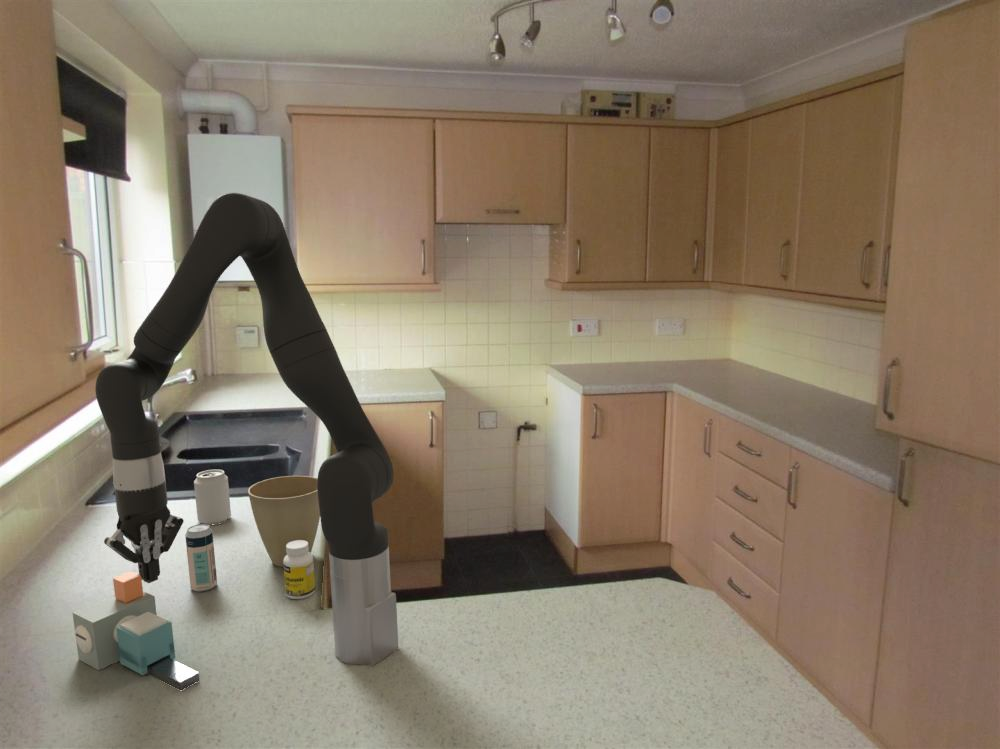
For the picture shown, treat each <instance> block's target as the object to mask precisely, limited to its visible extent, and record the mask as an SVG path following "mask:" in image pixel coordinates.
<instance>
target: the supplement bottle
mask: <svg viewBox="0 0 1000 749" xmlns="http://www.w3.org/2000/svg"><path fill="white" fill-rule="evenodd" d="M308 551H309V546H308V542H307V541H304V540H296V541H292V542H289V543H288V544H287V545H286V552H287V555H286V556H285V557H284V560H283V565H284V567H283V573H284V575H283V576H284V589H285V596H286V597H287V598H289V599H291V600H301V599H302V600H303V599H306V598H310V596H313V594H314V593H315V592H316V579H315V577H316V576H315V565H314V564H315V563H314V556H313V554H312V552H311V553H310V552H308Z"/></svg>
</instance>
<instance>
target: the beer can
mask: <svg viewBox="0 0 1000 749" xmlns="http://www.w3.org/2000/svg"><path fill="white" fill-rule="evenodd" d="M184 536H185V546H186V556H187V566H188V574H189V576H188V577H189V585H190V587H189V588H190V590H192V591H195V592H198V593H200V592H201V593H202V592H206V591H210V590H213V588H214V587H215V586H216V585H217V584H218V579H217V578H218V577H217V566H216V558H215V557H216V555H215V554H216V553H215V546H214V544H215V543H214V535H213V529H212V528H211V526H210V525H206V524H202V523H201V524H195V525H192V526H189V527H188V528H187V530H186V532H185V535H184Z"/></svg>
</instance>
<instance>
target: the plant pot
mask: <svg viewBox="0 0 1000 749" xmlns="http://www.w3.org/2000/svg"><path fill="white" fill-rule="evenodd" d="M317 478H318V477H314V476H308V475H287V476H285V475H284V476H277V477H272V478H268V479H264V480H262V481H261V480H260V481H258V482H256V483H254V484H252V485H250V486H249V488H248V490H247V494H248V498H249V503H250V506H251V510H252V515H253V518H254V521H255V525H256V527H257V530H258V533H259V535H260V538H261V541H262V543H263V546H264V548H265V550H266V552H267V554H268V556H269V558H270V561H271V563H272V564H273V565H274V566H277V567H279V568H280V567H281V568H282V567H283V568H284V565H283V560H284V557H285V556H286V555H287V552H286V545H287V544H288V543H289V542H292V541H296V540H304V541H307V542H308V546H309V551H308V552H310V553H311V554H312V550H313V547H314V544H315V540H316V536H317V533H318V532H317V531H318V528H319V525H320V524H319V523H320V520H321V518H320V509H319V501H318V492H317Z"/></svg>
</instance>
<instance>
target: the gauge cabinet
mask: <svg viewBox="0 0 1000 749" xmlns="http://www.w3.org/2000/svg"><path fill="white" fill-rule="evenodd" d="M146 612H150V613H152V614H155V615H157V606H156V598H155V595H153V594H150V593H148V592H146V591H144V590H143V596H141V597H139V598H136V599H134V600H132V601H129V602H127V603H124V602H122V601H120V600H118V599H115V594H114V595H113V596H110V597H107V598H105V599H102V600H100V601H97V602H95V603H93V604H91V605H88V606H85V607H83V608H80V609H78V610H76V611H73V612H72V618H73V625H74V636H75V640H76V641H75V642H76V649H77V658H78V660H79V661H81V662H83V663H84V664H87V665H88V666H90V667H91V666H92V667H91V668H93V669H94V670H96V671H98V670H99V671H101V670H103V669H105V667H106V668H108V667H110V666H111V664H112V665H114V664H116V663H117V662H116V661H118V662H119V660H120V654H119V646H118V638H117V629H116V627H118V626H120V624H122V623H124V622H126V621H128V620H131V619H133V618H135V617H137V616H140V615H142V614H144V613H146ZM157 616H158V615H157ZM115 662H116V663H115ZM113 663H114V664H113ZM109 665H110V666H109ZM107 666H108V667H107ZM100 669H101V670H100Z"/></svg>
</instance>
